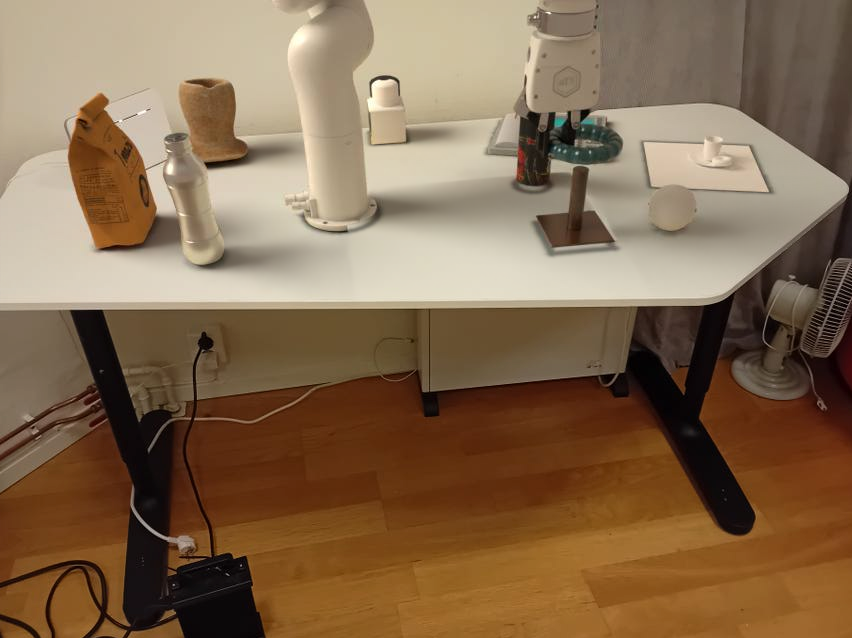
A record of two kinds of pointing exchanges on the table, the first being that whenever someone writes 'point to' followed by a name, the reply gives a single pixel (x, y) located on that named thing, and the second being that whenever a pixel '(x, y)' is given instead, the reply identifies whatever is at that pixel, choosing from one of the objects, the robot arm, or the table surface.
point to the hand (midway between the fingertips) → (554, 151)
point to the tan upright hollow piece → (211, 118)
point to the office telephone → (509, 133)
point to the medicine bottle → (386, 111)
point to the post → (575, 218)
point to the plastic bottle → (192, 200)
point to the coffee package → (109, 178)
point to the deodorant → (532, 155)
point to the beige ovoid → (672, 207)
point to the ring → (582, 154)
